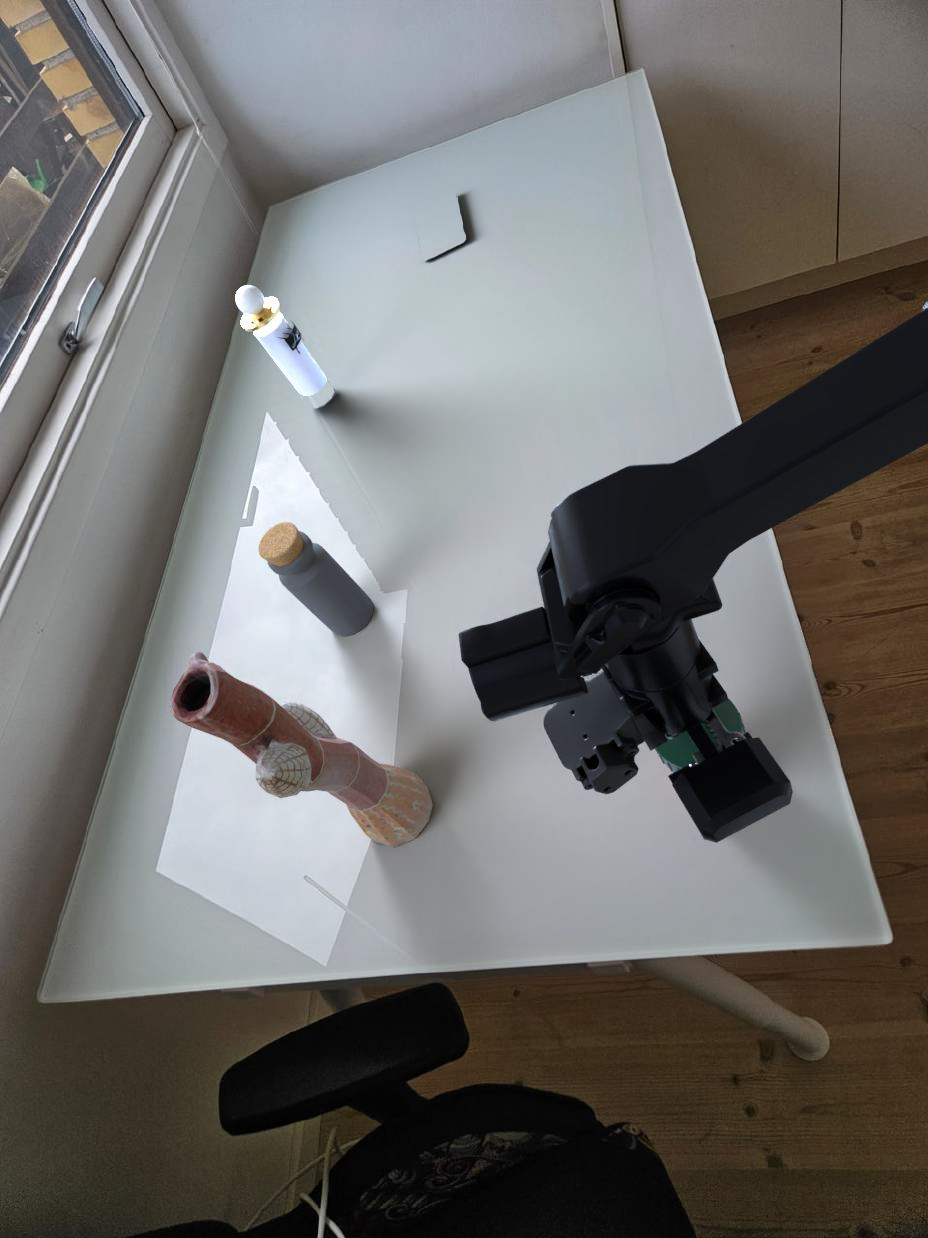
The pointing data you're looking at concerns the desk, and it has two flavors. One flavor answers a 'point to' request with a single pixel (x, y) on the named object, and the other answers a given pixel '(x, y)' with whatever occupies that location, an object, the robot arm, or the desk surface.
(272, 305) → the perfume bottle
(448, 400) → the desk surface
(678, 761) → the jar lid
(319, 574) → the bottle
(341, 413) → the desk surface
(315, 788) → the vase
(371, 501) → the desk surface
